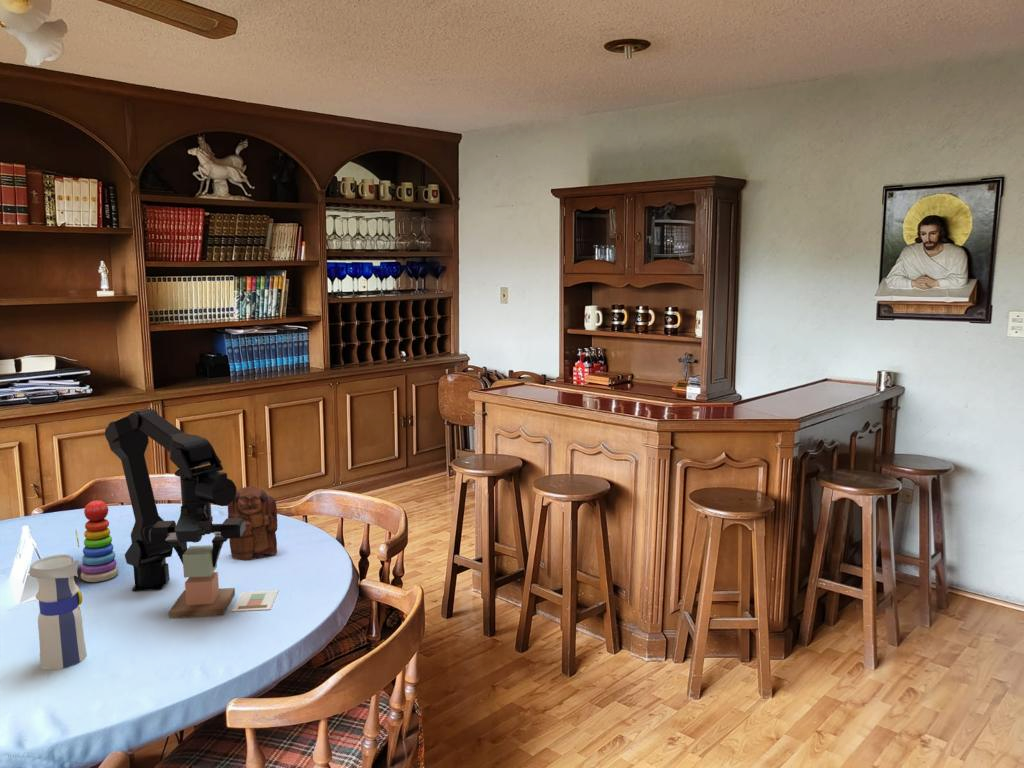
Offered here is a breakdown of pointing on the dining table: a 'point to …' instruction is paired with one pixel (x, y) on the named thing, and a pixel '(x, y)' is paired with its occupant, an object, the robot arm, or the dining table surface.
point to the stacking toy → (97, 545)
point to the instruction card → (255, 601)
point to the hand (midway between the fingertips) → (200, 567)
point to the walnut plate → (202, 605)
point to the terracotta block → (202, 589)
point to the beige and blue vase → (59, 612)
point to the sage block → (198, 561)
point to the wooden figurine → (254, 524)
